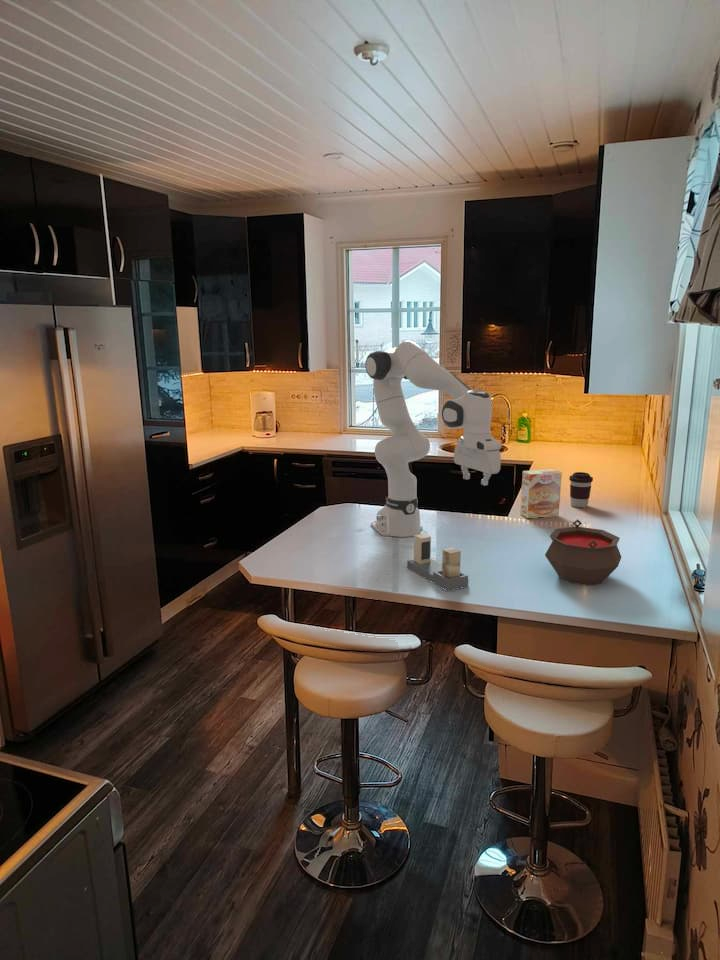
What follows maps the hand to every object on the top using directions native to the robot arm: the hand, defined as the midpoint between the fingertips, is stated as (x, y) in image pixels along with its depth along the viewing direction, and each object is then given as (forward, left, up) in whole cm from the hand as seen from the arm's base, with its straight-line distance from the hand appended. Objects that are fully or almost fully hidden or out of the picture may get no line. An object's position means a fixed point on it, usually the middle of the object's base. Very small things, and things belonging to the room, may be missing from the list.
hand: (475, 481), depth 211 cm
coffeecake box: (-32, +61, -29) cm, 75 cm away
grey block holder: (+3, -17, -29) cm, 34 cm away
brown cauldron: (+26, +24, -29) cm, 46 cm away
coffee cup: (-34, +87, -29) cm, 98 cm away
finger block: (+11, -17, -27) cm, 33 cm away
